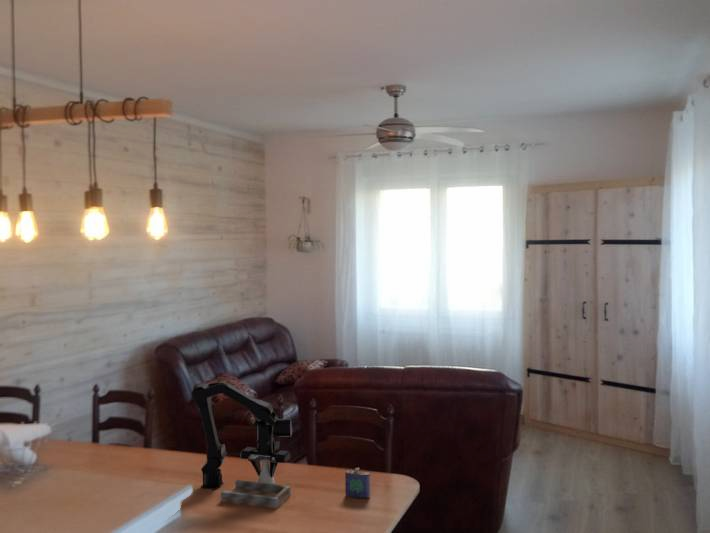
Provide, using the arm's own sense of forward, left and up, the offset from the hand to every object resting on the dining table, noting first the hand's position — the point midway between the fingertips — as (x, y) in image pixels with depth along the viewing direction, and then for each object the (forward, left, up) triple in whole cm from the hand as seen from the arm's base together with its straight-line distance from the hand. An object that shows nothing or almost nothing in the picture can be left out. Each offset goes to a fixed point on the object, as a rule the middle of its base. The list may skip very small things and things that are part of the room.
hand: (265, 476), depth 243 cm
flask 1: (0, 0, -3) cm, 3 cm away
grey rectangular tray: (+2, -12, -4) cm, 13 cm away
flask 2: (+37, 0, -4) cm, 37 cm away
